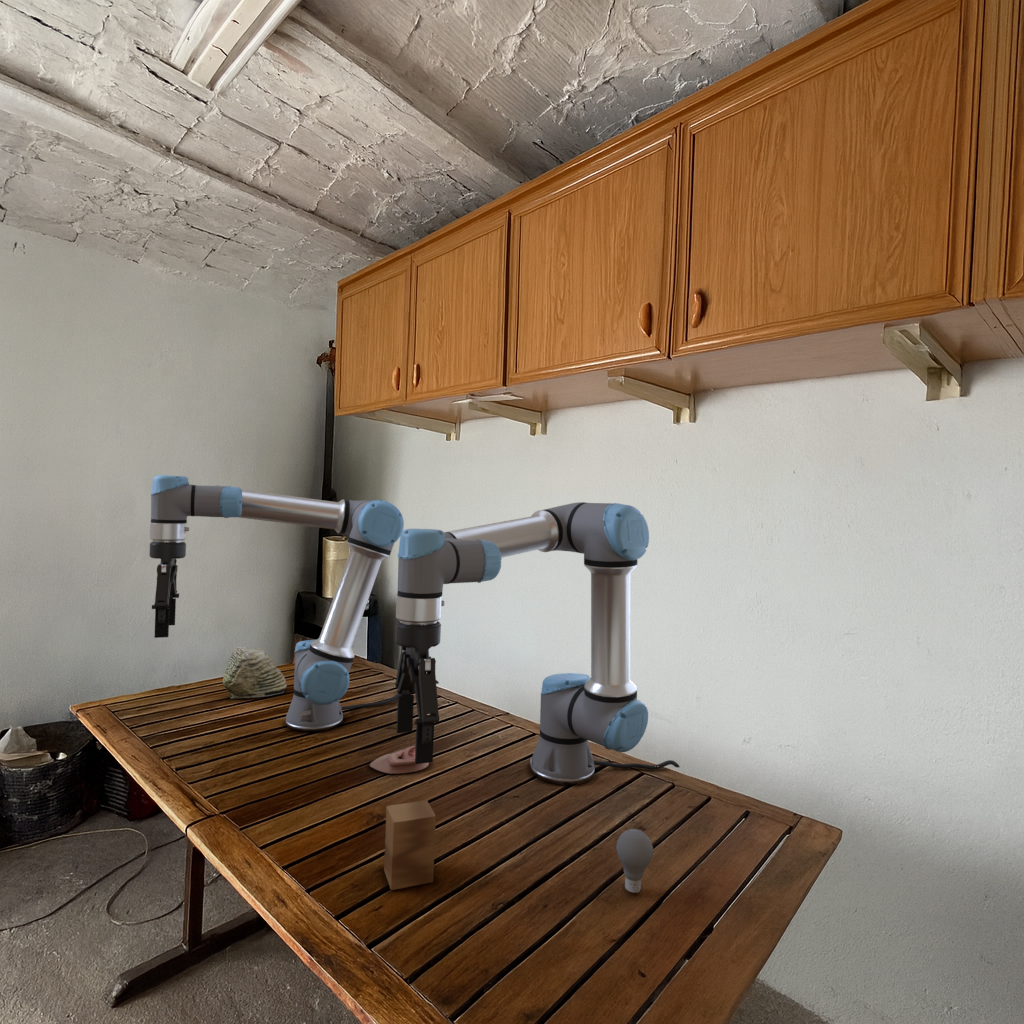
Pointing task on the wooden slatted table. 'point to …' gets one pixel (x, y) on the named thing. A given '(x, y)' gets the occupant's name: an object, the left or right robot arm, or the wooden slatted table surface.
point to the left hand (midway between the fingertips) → (165, 631)
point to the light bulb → (634, 857)
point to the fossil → (252, 674)
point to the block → (409, 844)
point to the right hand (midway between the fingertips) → (413, 746)
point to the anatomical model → (398, 762)
